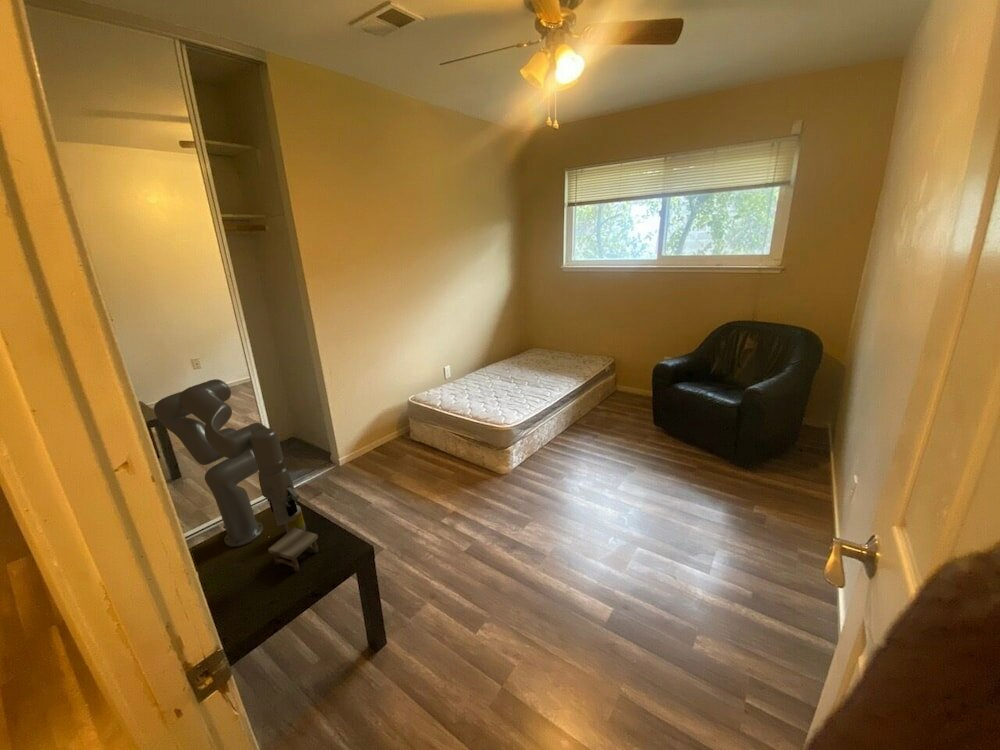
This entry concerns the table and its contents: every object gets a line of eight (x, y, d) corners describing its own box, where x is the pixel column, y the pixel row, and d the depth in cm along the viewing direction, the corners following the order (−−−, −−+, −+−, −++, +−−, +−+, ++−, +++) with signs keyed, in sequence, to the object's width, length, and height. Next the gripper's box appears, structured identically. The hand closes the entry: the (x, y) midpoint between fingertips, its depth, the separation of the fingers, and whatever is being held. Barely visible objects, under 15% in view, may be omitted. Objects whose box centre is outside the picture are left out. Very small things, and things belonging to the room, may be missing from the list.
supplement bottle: (310, 528, 156) (302, 500, 151) (295, 539, 150) (287, 511, 146) (297, 523, 158) (290, 496, 154) (283, 534, 153) (275, 507, 148)
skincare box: (277, 526, 132) (268, 496, 128) (275, 519, 136) (267, 489, 132) (297, 519, 136) (289, 489, 131) (295, 512, 139) (287, 482, 135)
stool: (272, 565, 139) (267, 549, 136) (298, 542, 148) (294, 527, 146) (296, 573, 135) (292, 557, 132) (321, 549, 144) (317, 534, 142)
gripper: (242, 468, 128) (256, 513, 135) (282, 477, 122) (295, 524, 128) (262, 456, 135) (275, 500, 141) (301, 464, 129) (313, 509, 135)
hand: (284, 511), depth 135 cm, fingers closed on skincare box, 6 cm apart
